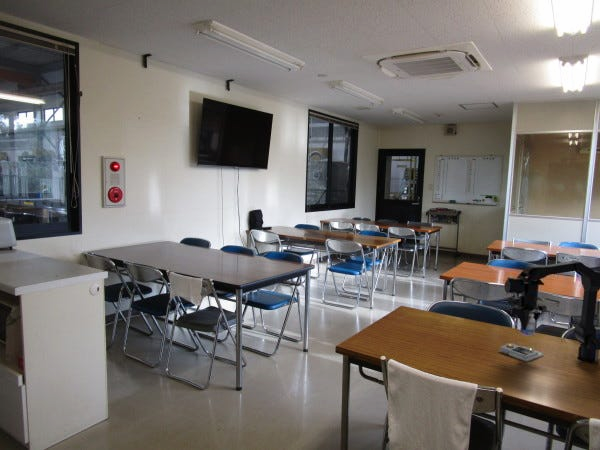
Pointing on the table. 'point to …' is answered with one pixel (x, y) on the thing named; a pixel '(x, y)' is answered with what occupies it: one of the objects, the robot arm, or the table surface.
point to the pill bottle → (529, 327)
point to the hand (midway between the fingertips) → (527, 328)
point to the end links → (515, 349)
